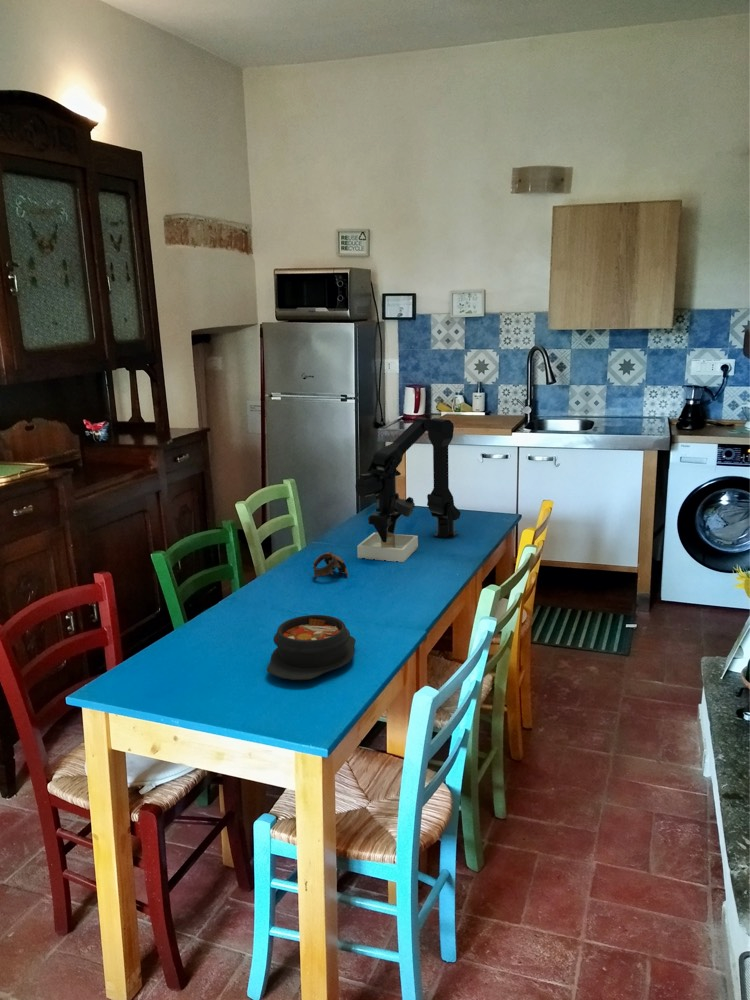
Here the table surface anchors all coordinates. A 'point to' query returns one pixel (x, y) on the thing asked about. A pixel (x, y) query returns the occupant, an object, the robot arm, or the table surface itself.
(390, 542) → the wooden cylinder
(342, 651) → the casserole
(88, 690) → the table surface
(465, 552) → the table surface
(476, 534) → the table surface
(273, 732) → the table surface
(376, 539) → the gray and white box
